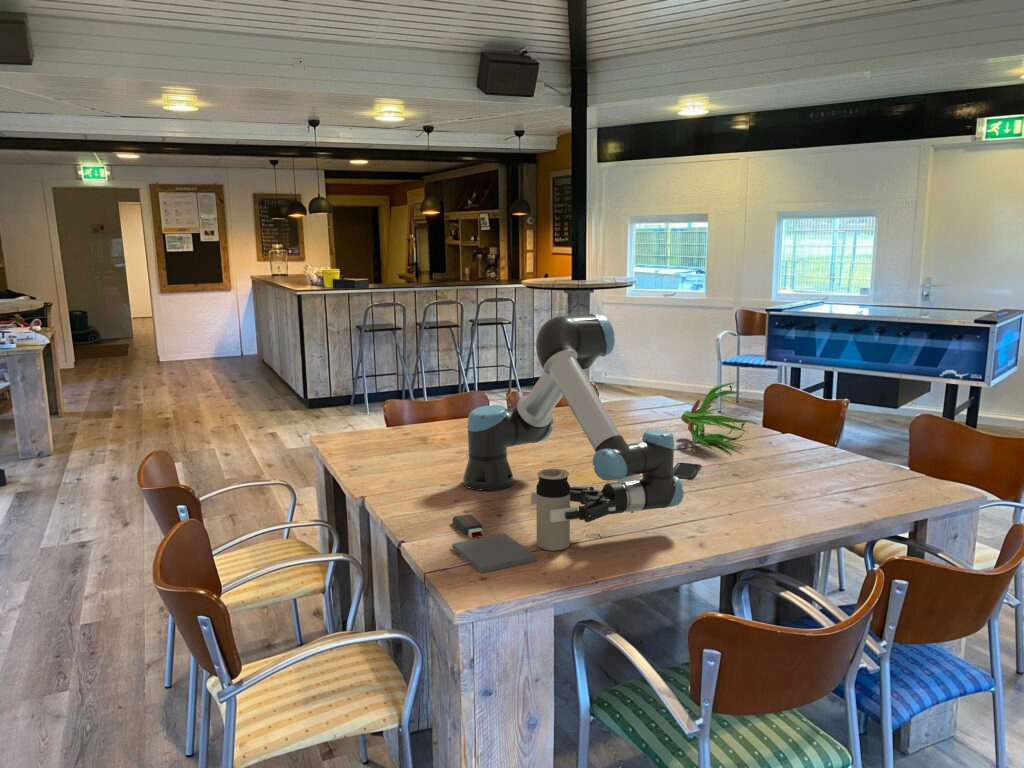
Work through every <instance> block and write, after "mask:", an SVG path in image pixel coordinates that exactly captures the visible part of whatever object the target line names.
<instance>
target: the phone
mask: <svg viewBox="0 0 1024 768" xmlns="http://www.w3.org/2000/svg"><path fill="white" fill-rule="evenodd" d="M702 467H703V466H702V464H699V463H691V462H690V463H689V462H677V463H676V465H674V466H673V476H676V477H678V478H679V479H682V480H683V479H684V480H695V478H696V476H697V475H698V474H699V472H700V471H701V470H702Z"/></svg>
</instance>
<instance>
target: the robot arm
mask: <svg viewBox="0 0 1024 768" xmlns="http://www.w3.org/2000/svg"><path fill="white" fill-rule="evenodd" d="M535 340H536V342H535V349H536V355H537V359H538V362H539V364H540V366H541V368H542V369H543V372H542V374H541V375H540V377H539V378H538V380H537V381H536V383H535V384H534V385H533V387H532V389H531V390H530V392H529V393H528V395H523V396H522V397H520V398H519V400H518V401H517V402H516V404H515V405H514V406H513V407H510V408H506V406H505V405H501V404H492V405H489V404H488V405H484V406H479V407H476V408H474V409H473V410H471V411H470V412H469V414H468V417H467V426H466V427H467V437H468V443H467V444H468V445H467V447H468V460H467V464H466V468H465V471H464V474H463V477H462V479H463V486H464V485H465V486H467V487H470V488H473V489H472V490H474V489H482V490H491V491H497V490H496V489H500V490H503V489H502V488H504V489H507V488H510V487H511V486H512V485H513V484H514V474H513V473H512V469H511V467H510V463H509V460H508V448H511V447H515V446H521V445H526V444H536V443H539V442H542V441H544V440H546V439H548V437H549V436H550V435H551V433H552V431H553V428H554V427H553V424H554V417H553V410H554V409H555V408H556V406H557V404H558V403H559V402H560V401H561V399H562V398H564V400H565V401H566V403H567V404H568V407H569V409H570V410H571V412H572V414H573V415H574V416H575V417H574V418H575V419H576V421H577V422H578V424H579V426H580V427H581V429H582V431H583V432H584V434H585V436H586V438H587V439H588V442H589V444H591V447H592V448H593V450H594V452H595V453H594V454H593V458H592V466H593V470H594V473H595V474H596V476H597V477H598V478H600V479H601V480H603V481H606V482H607V481H616V480H617V482H607V483H605V484H604V485H603V487H602V489H601V490H597V489H595V488H594V486H570V502H576V503H580V504H581V505H578V507H577V506H574V507H570V508H564V509H555V510H550V522H559V521H567V520H570V521H573V520H574V521H575V520H580V521H584V523H590V522H593V521H595V520H598V519H600V518H602V517H605V516H609V515H616V514H623V513H630V514H634V513H635V512H638V511H647V510H648V511H649V510H655V509H666V508H670V507H671V508H673V507H675V506H678V505H680V504H681V503H682V501H683V499H684V495H685V494H684V493H685V491H684V488H683V483H682V481H681V478H678V477H676V476H673V468H674V461H675V460H674V459H675V458H674V457H675V455H674V454H675V453H674V452H675V440H674V435H673V433H672V432H671V431H669V430H666V429H665V430H664V429H649V430H646V431H644V432H643V434H642V439H641V441H639V442H633V443H630V444H628V443H627V442H626V440H625V438H624V436H623V435H622V434H621V432H620V431H619V429H618V428H617V426H616V424H615V422H614V421H613V419H612V417H611V415H610V414H609V412H608V410H607V408H606V407H605V405H604V403H603V402H602V401H601V399H600V397H599V395H598V394H597V392H596V390H595V388H594V387H593V385H592V383H591V382H590V380H589V379H588V377H587V375H586V373H585V372H584V371H585V370H588V369H590V368H591V367H592V365H593V364H594V363H595V361H596V360H597V358H599V357H605V356H608V355H610V354H611V353H612V351H613V350H614V347H615V343H616V339H615V330H614V327H613V325H612V322H611V321H610V320H609V319H608V317H606V316H605V315H603V314H599V313H589V314H587V313H585V314H576V315H574V314H573V315H561V316H559V315H558V316H554V317H553V318H550V319H548V320H547V321H545V322H544V324H543V325H542V326H541V328H540V329H539V331H538V333H537V336H536V339H535ZM638 474H640V475H641V474H642V475H641V476H642V479H641V478H640V479H639V480H630V481H622V482H618V480H619V479H622V478H625V477H628V476H632V475H638ZM465 486H464V487H465ZM509 486H510V487H509ZM467 487H466V488H467ZM506 487H507V488H506ZM470 488H469V489H470ZM482 490H481V491H482ZM530 504H531V505H534V504H536V491H533V492H532V491H531V492H530Z"/></svg>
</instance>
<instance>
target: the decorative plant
mask: <svg viewBox="0 0 1024 768" xmlns="http://www.w3.org/2000/svg"><path fill="white" fill-rule="evenodd" d="M733 384H734V382H728V383H722V384H718V385H715V386H714V387H712V388H711V389H710V390H709V391H708V392H707V394H706V396H705V397H704V399H703V402H702V403H701V406H700V407H699V405H700V402H701V400H700V399H697V400H696V401H695V403H693V406H692V407H691V411H689V410H686V411H684V412H683V413H682V414H681V417H680V420H681V421H682V422H683V423H685V424H688V425H687V430H688V431H689V433H690V434H691V437H692V438H691V439H692V443H693V444H694V445H696V446H697V444H696V441H697V442H698V443H699V445H700V446H702V447H706V448H708V449H710V450H712V451H714V452H715V453H717V451H716V450H715V449H714V448H713V447H712V446H710V443H711V444H716V445H718V446H720V447H721V448H723V449H725V450H730V449H731V450H732V449H737V448H738V449H739V448H741V447H742V446H743V445H744V444H745V443H744V444H742V445H740V446H734V445H733V443H732V445H730V444H728V443H727V442H732V441H737V440H739V439H740V438H741V437H742V436H743V435H744V434H745V433H748V434H749V433H750V431H748V430H745V429H743V428H744V426H745V425H746V423H751V422H754V420H746V419H740V418H739V419H738V418H733V417H741V416H743V415H745V413H741V414H739V415H735V416H729V415H728V416H727V415H726V416H725V415H718V414H717V415H716V414H713V413H714V411H717V408H713V409H710V408H711V407H712V406H713V405H712V403H713V402H714V401H715V400H717V399H718V398H720V399H724V400H727V401H729V402H731V404H733V403H734V402H733V401H732V400H731V399H729V398H727V397H724V396H727V395H733V394H735V395H736V394H738V395H741V396H742V395H743V393H740V392H738V391H734V390H733V389H732V388H733V387H732V385H733ZM737 384H738V386H739V383H738V382H737ZM728 386H729V388H730V389H729V390H723V391H722V390H721V391H719V392H717V391H718V390H720V389H722V388H724V387H728ZM721 409H724V407H720V408H718V410H721ZM729 423H732V424H733V425H732V424H729ZM736 423H738V424H739V423H740V424H739V425H738V424H736ZM705 425H708V426H717V427H718V428H722V429H724V430H725V429H726V428H728V429H730V431H729V432H728V433H727V434H724V433H720V432H712V433H711V432H710V433H709V432H706V430H705V429H706V428H705ZM740 426H741V427H740ZM733 431H735V432H736V433H737V432H738V431H741V432H743V433H742V434H740V435H739V436H737V437H736V436H735V437H730V436H728V435H730V434H731V433H732V432H733ZM724 440H725V441H724ZM700 446H698V448H699V449H701V450H703V448H701V447H700ZM725 446H726V447H725ZM727 447H728V448H727ZM705 452H706V451H705Z"/></svg>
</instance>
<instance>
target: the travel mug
mask: <svg viewBox="0 0 1024 768" xmlns="http://www.w3.org/2000/svg"><path fill="white" fill-rule="evenodd" d="M536 474H537V476H538V480H539V481H537V484H536V488H535V490H536V491H535V492H536V505H535V506H536V545H537V547H538V548H540V549H542V550H544V551H550V552H557V551H562V550H565V549H568V548H569V547H570V546H571V520H567V521H559V522H550V510H555V509H564V508H571V501H570V487H571V486H570V484H569V481H568V478H569V475H570V473H569V472H568V471H567V470H565V469H559V468H545V469H541V470H539V471H537V473H536Z"/></svg>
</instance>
